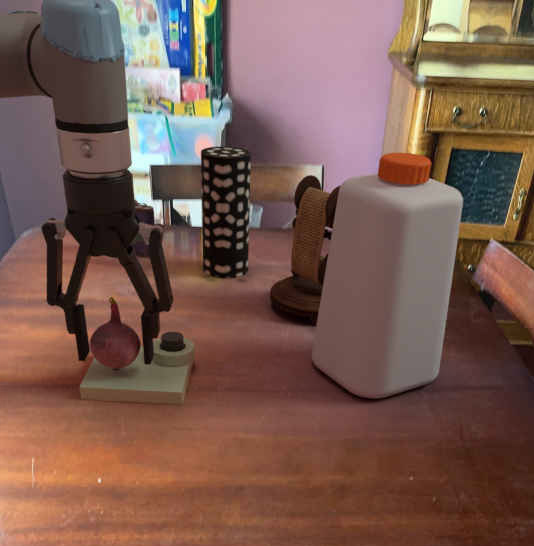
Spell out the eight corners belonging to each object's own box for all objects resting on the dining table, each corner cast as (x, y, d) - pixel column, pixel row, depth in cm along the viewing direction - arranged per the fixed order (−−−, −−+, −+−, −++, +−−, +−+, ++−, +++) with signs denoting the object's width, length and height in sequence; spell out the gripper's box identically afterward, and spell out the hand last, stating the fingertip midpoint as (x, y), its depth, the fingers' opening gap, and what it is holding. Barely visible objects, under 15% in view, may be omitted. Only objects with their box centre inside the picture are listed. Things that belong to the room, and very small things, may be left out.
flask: (108, 252, 129) (103, 193, 123) (115, 247, 131) (110, 189, 125) (154, 258, 127) (151, 199, 121) (160, 253, 130) (157, 195, 123)
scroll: (251, 303, 113) (255, 176, 101) (314, 283, 121) (324, 163, 109) (313, 334, 104) (325, 200, 92) (376, 311, 112) (395, 184, 100)
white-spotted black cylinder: (194, 267, 125) (190, 149, 113) (229, 258, 129) (230, 144, 117) (221, 281, 120) (220, 160, 108) (257, 271, 124) (261, 154, 112)
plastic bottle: (449, 382, 94) (500, 166, 77) (364, 408, 87) (398, 179, 70) (380, 338, 104) (412, 139, 87) (299, 359, 97) (316, 148, 81)
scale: (80, 399, 86) (77, 375, 84) (103, 354, 96) (100, 332, 94) (185, 405, 86) (185, 381, 84) (197, 359, 96) (196, 337, 94)
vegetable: (151, 369, 90) (146, 297, 83) (118, 387, 85) (111, 313, 79) (118, 355, 92) (111, 285, 86) (84, 373, 88) (74, 300, 82)
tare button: (159, 352, 91) (159, 340, 90) (163, 342, 93) (162, 330, 92) (182, 353, 91) (181, 341, 90) (185, 343, 93) (184, 331, 92)
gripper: (-10, 173, 71) (28, 367, 85) (186, 183, 71) (192, 376, 85) (14, 156, 77) (46, 340, 91) (195, 166, 77) (199, 348, 91)
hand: (116, 357), depth 88 cm, fingers open, 8 cm apart
